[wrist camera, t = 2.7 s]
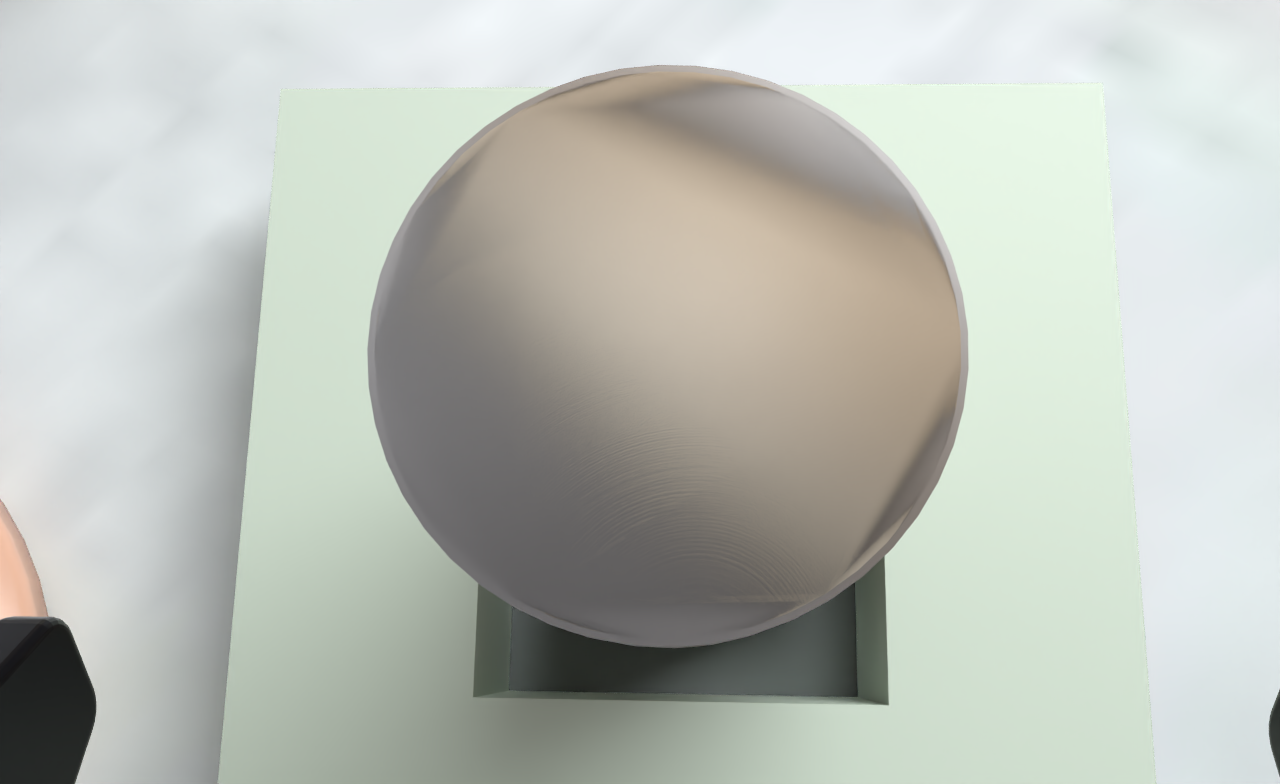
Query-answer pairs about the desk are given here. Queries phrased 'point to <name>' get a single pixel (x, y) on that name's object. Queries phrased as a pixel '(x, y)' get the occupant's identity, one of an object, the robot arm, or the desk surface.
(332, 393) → the socket block
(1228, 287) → the desk surface
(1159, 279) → the desk surface
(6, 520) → the terracotta coaster
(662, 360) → the beige cylinder
